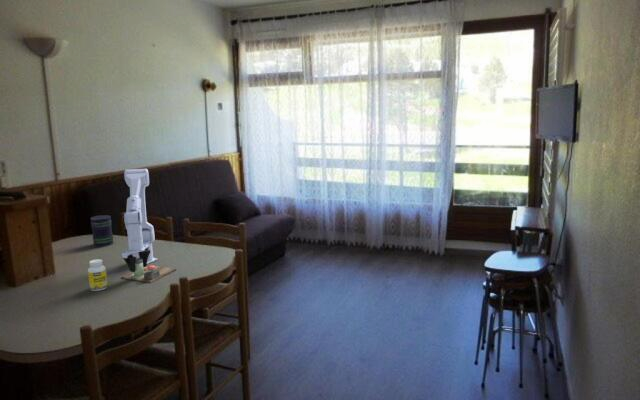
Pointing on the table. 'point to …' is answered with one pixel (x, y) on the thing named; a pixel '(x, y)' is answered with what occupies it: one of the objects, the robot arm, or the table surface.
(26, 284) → the table surface
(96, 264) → the pill bottle
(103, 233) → the storage jar
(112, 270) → the table surface
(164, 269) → the board
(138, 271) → the pale green jar
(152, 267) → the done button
